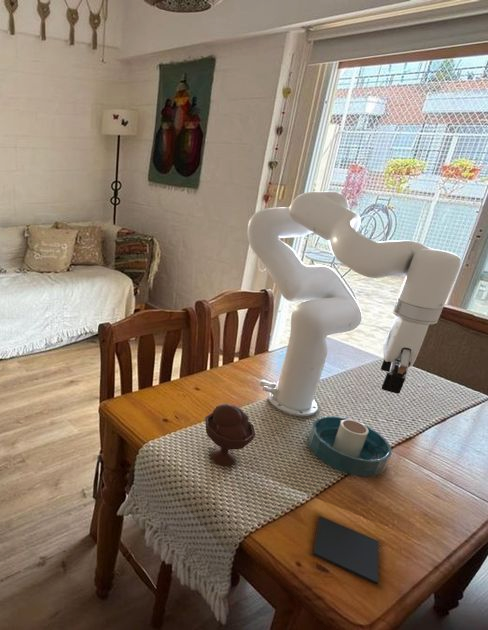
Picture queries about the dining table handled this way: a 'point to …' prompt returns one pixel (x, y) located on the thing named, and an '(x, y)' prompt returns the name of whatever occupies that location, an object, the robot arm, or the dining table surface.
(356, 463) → the teal bowl
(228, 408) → the ice cream bowl
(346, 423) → the cream cup
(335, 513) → the dining table surface
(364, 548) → the slate coaster
